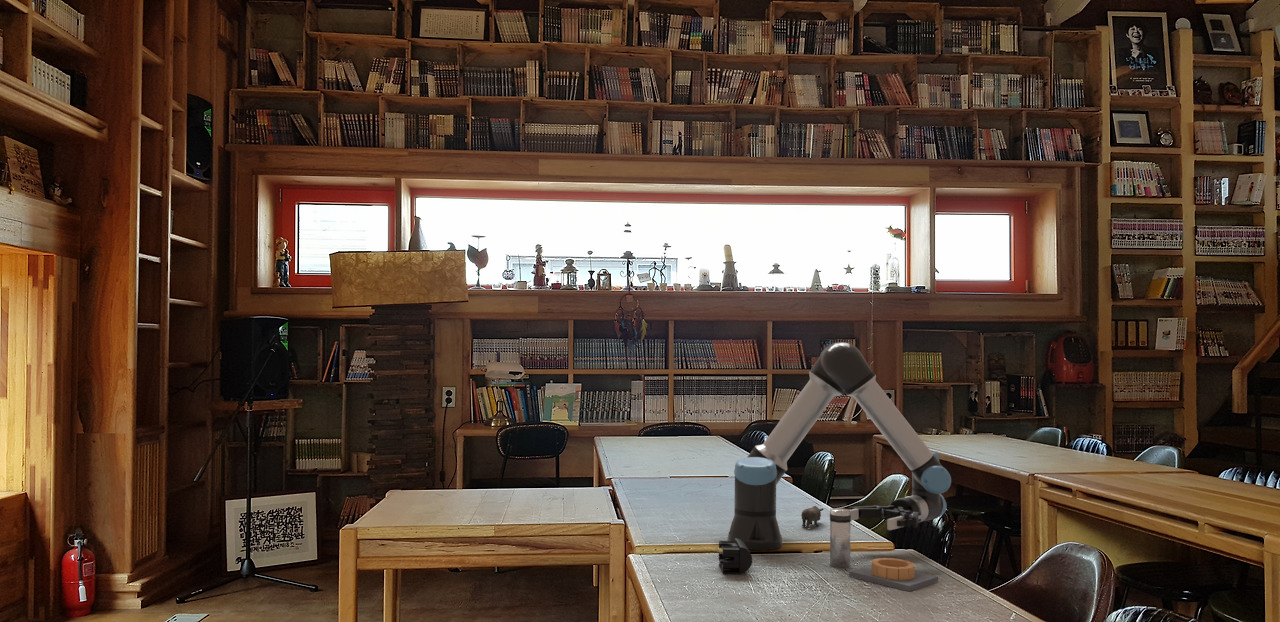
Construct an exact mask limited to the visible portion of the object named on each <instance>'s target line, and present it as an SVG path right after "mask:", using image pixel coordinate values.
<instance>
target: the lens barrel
mask: <svg viewBox="0 0 1280 622" xmlns="http://www.w3.org/2000/svg"><path fill="white" fill-rule="evenodd" d="M829 511H830V512H829V530H830V531H829V534H830V535H829V566H830V567H831V568H834V569H850V568H851V522H852V521H851V514H850V510H849V508H838V507H837V508H836V507H835V508H833V507H832V508H830V510H829Z"/></svg>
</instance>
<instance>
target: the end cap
mask: <svg viewBox="0 0 1280 622" xmlns="http://www.w3.org/2000/svg"><path fill="white" fill-rule="evenodd" d="M718 549H721V550H722V552H718V561H719V562H718V566H719V569H720V571H721V574H722V575H728V576H729V575H731V576H733V575H734V576H740V575H743V574H745V572H747V571H748V570H750V568H751V567H752V564H753V556H752V553H751V551H750V549H748V548H747V547H746V545H745V543H744V542H743V541H742V540H740V539H738V538H735V541H728V540H719V541H718Z"/></svg>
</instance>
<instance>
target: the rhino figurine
mask: <svg viewBox="0 0 1280 622" xmlns="http://www.w3.org/2000/svg"><path fill="white" fill-rule="evenodd" d="M822 511H824V508H823V507H822V508H819V507H818V506H816V505H814V506H812V507H808V508H805V509H803V510H802V512H801V514H800V516H801V520H802V525H801V527H802V526H804V527H805V526H806V527H805V529H806V528H811V527H810V526H811V525H810V524H812V523H813V526H814V525H818V526H819V524H818V521H820V520H821V516H822Z"/></svg>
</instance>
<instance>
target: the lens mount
mask: <svg viewBox="0 0 1280 622" xmlns="http://www.w3.org/2000/svg"><path fill="white" fill-rule="evenodd" d="M915 566H916V564H915V563H913V562H911V561H909V560H906V559H905V560H904V559H901V558H892V557H881V558H880V557H878V558H875V559H872V560H871V564H869V565H866V566H863V567H859V568H855V569H853V570H851V569H850V570H849V571H848V577H850V578H855V579H859V580H863V581H866V582H869V583H874V584H879V585H882V586H886V587H890V588H894V589H897V590H902V591H905V590H906V592H912V591H915V590H917V589H920V588H923V587H927V586H930V585H933V584H935V583H938V582H939V576H937V575H933V574H929V573H924V572H920V571H916V567H915Z"/></svg>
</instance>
